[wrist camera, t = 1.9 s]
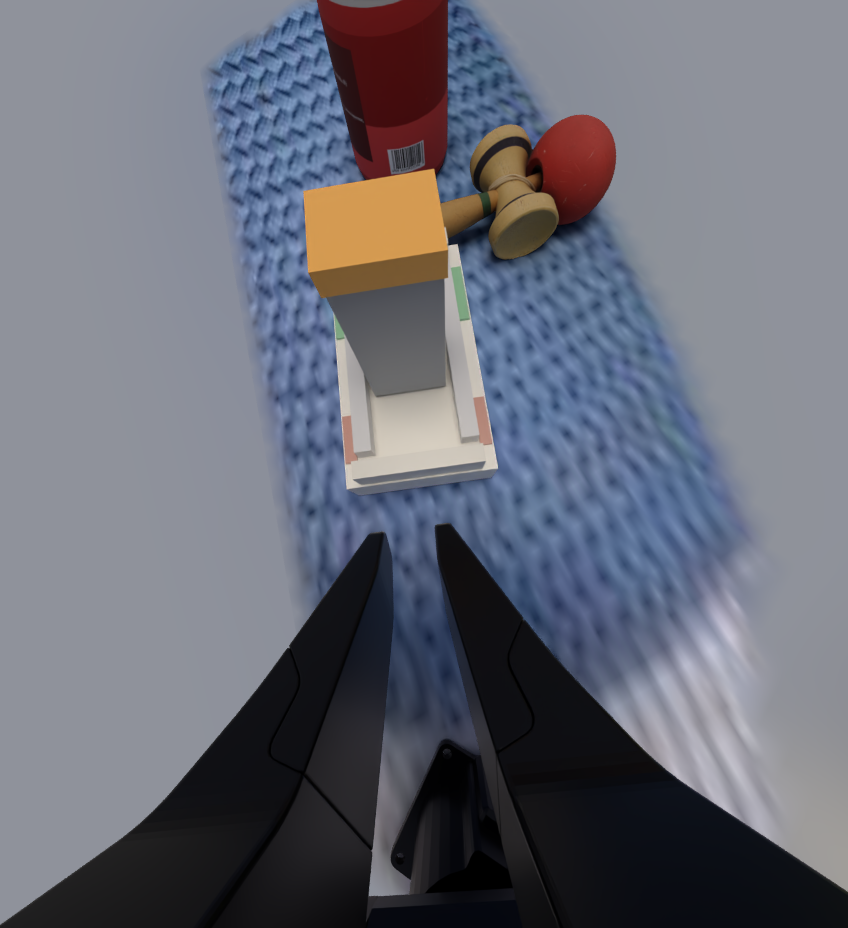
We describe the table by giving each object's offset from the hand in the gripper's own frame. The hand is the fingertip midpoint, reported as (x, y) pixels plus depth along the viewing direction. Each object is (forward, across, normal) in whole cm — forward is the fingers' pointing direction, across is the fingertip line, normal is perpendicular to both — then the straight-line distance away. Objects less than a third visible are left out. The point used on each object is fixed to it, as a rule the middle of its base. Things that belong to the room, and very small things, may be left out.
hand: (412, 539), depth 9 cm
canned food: (+33, -2, -13) cm, 35 cm away
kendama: (+26, -7, -6) cm, 28 cm away
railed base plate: (+18, 0, +1) cm, 18 cm away
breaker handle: (+15, 0, 0) cm, 15 cm away
